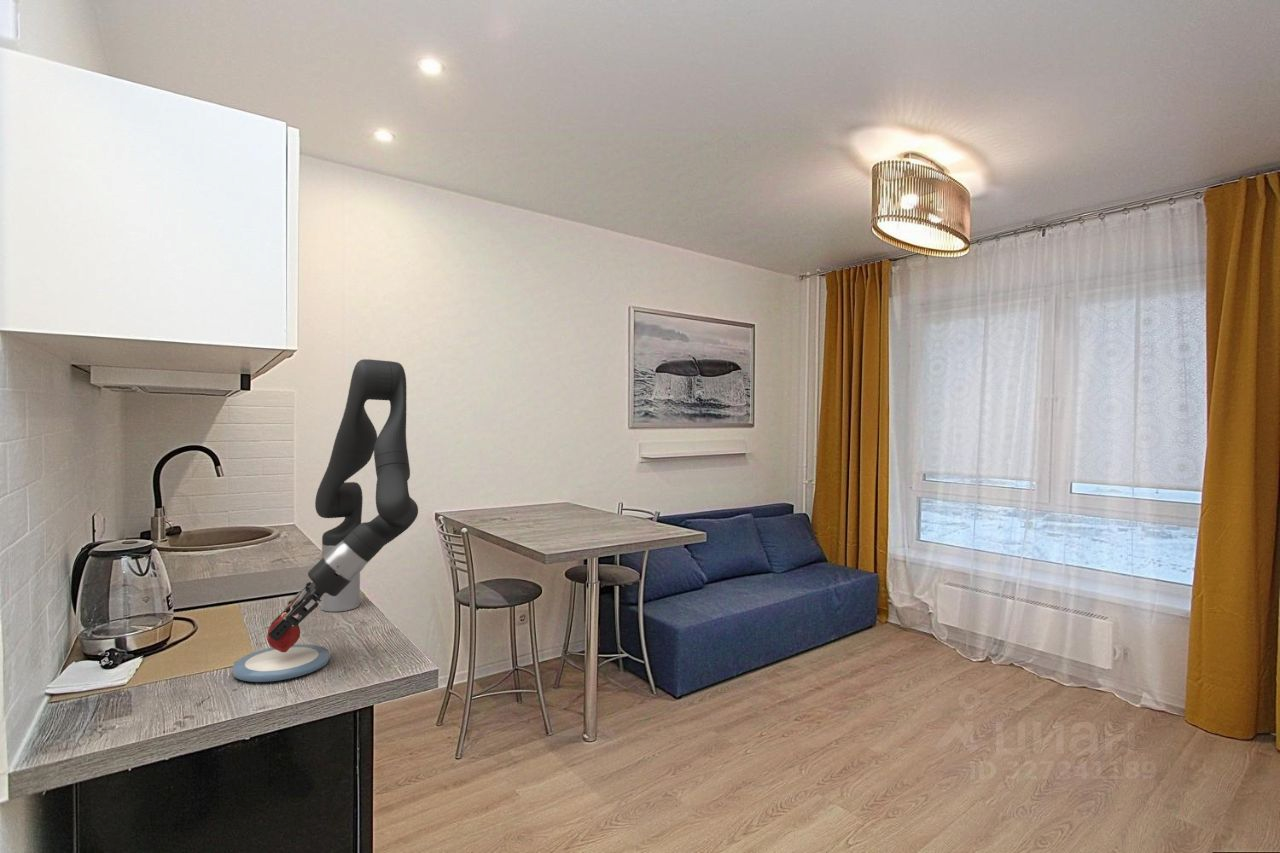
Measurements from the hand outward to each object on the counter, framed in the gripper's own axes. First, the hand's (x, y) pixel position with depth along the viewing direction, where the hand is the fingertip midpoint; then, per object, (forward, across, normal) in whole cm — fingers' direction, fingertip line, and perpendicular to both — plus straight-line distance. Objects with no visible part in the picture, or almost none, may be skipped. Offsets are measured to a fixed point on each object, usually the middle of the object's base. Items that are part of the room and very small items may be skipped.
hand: (273, 632), depth 130 cm
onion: (+2, 0, +4) cm, 5 cm away
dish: (+4, 0, +6) cm, 8 cm away
